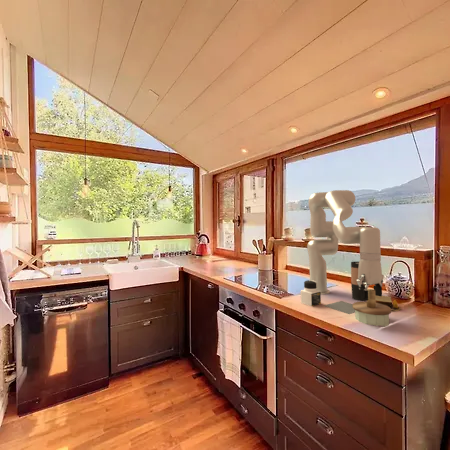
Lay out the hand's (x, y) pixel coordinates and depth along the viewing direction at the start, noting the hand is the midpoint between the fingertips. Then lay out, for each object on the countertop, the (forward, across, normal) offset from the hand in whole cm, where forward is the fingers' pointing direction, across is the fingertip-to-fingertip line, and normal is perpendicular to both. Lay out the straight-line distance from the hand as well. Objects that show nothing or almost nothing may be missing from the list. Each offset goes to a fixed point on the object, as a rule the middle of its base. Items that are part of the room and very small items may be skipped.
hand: (371, 297), depth 104 cm
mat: (+10, -5, -16) cm, 19 cm away
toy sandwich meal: (+10, -21, -6) cm, 24 cm away
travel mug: (+10, -23, -20) cm, 32 cm away
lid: (+5, 0, 0) cm, 5 cm away
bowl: (+10, 0, 0) cm, 10 cm away
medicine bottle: (+10, +4, -29) cm, 31 cm away
